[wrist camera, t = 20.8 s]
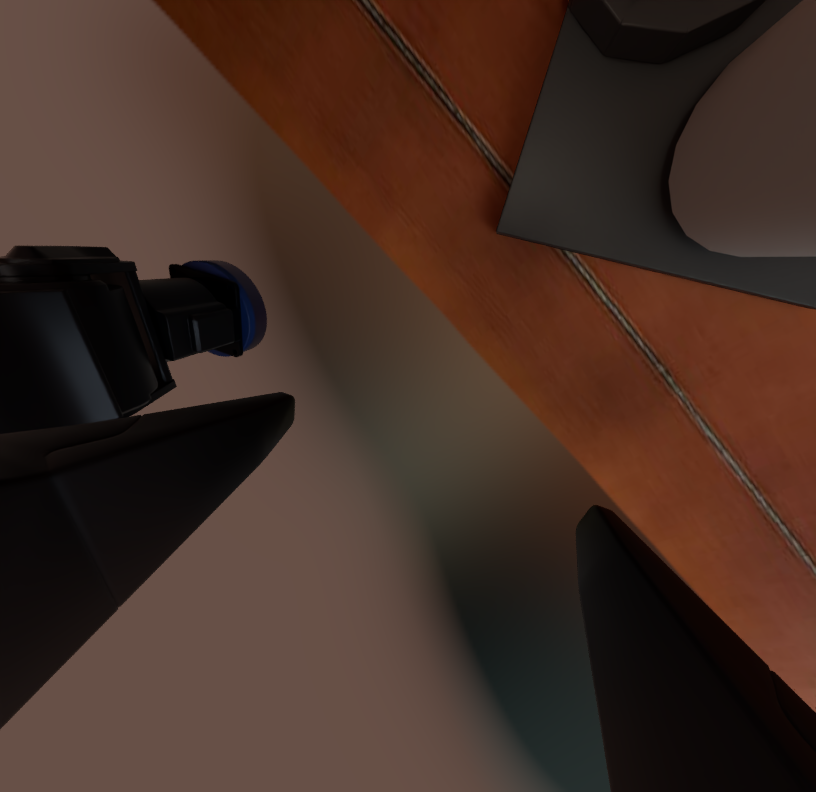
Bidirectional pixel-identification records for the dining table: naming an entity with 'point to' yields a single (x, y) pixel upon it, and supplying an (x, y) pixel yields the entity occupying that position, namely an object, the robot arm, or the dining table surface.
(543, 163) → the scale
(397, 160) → the dining table surface
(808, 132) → the can
